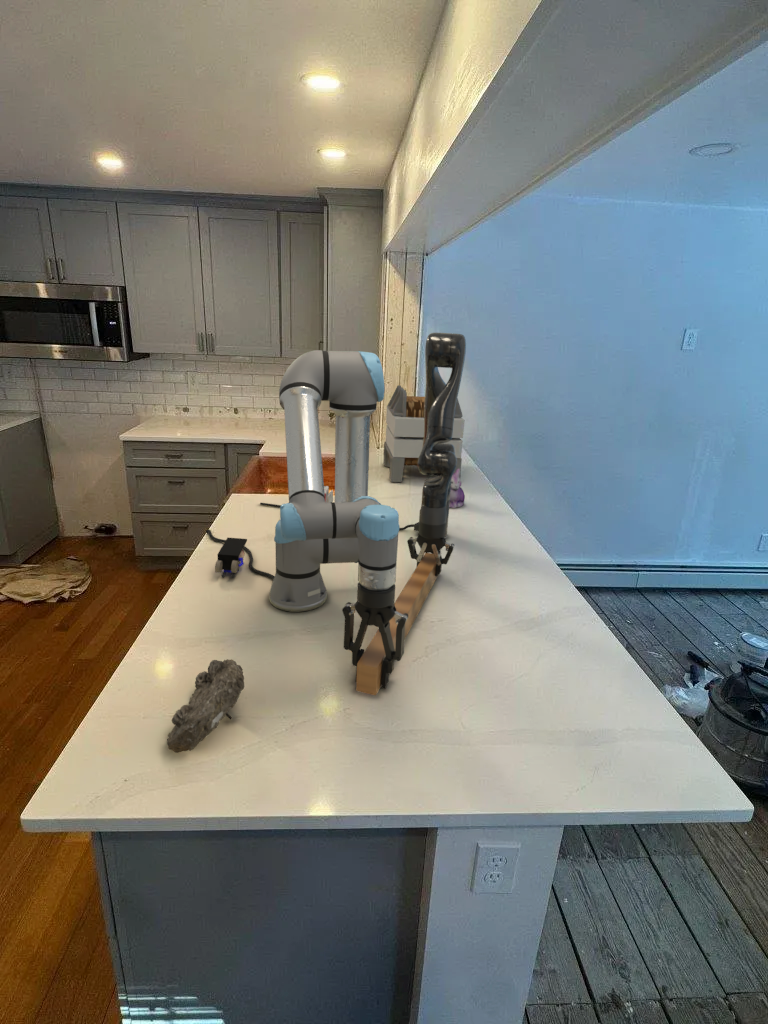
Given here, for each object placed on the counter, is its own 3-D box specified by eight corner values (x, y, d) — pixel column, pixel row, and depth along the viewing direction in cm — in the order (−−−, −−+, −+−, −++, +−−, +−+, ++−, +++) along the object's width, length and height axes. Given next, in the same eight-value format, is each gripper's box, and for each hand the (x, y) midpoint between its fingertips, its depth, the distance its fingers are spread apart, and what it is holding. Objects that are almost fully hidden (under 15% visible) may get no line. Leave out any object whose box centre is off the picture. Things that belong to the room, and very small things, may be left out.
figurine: (451, 509, 226) (454, 473, 221) (437, 502, 234) (440, 467, 229) (470, 507, 230) (474, 471, 225) (456, 499, 238) (459, 465, 233)
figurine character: (238, 584, 162) (249, 557, 175) (236, 562, 158) (247, 536, 172) (215, 584, 161) (227, 556, 175) (212, 561, 158) (225, 535, 171)
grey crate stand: (382, 463, 289) (386, 382, 275) (445, 464, 293) (451, 384, 279) (390, 482, 257) (394, 392, 243) (460, 483, 261) (468, 394, 247)
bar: (424, 572, 171) (425, 552, 169) (438, 575, 170) (439, 554, 168) (356, 691, 117) (356, 663, 115) (376, 695, 116) (377, 668, 114)
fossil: (192, 660, 117) (244, 628, 112) (224, 691, 120) (276, 661, 115) (142, 746, 98) (202, 712, 93) (182, 779, 101) (242, 748, 96)
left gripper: (327, 582, 111) (325, 682, 119) (416, 599, 107) (408, 702, 114) (341, 567, 118) (339, 662, 126) (425, 582, 113) (417, 680, 121)
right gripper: (404, 520, 159) (401, 574, 165) (455, 527, 155) (450, 583, 161) (411, 511, 166) (408, 564, 172) (460, 518, 162) (454, 572, 168)
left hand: (372, 681), depth 120 cm, fingers open, 5 cm apart
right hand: (428, 573), depth 166 cm, fingers closed on bar, 4 cm apart
